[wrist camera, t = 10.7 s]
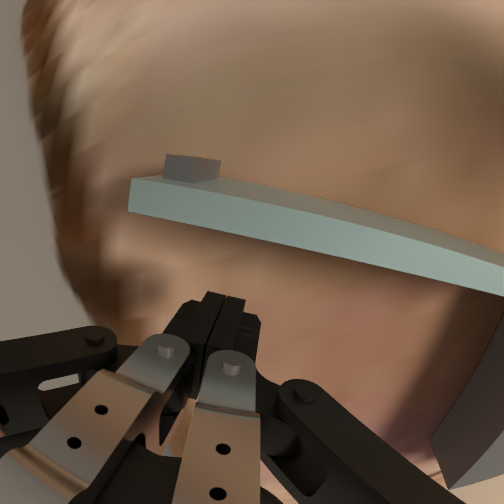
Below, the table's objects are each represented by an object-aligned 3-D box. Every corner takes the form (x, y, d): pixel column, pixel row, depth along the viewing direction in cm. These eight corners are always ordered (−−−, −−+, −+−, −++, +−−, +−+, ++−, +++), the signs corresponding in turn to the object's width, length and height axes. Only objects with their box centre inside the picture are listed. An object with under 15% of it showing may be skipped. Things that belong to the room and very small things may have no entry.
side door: (526, 249, 13) (591, 283, 7) (517, 275, 14) (579, 316, 8) (196, 156, 14) (135, 151, 8) (190, 191, 15) (127, 211, 8)
